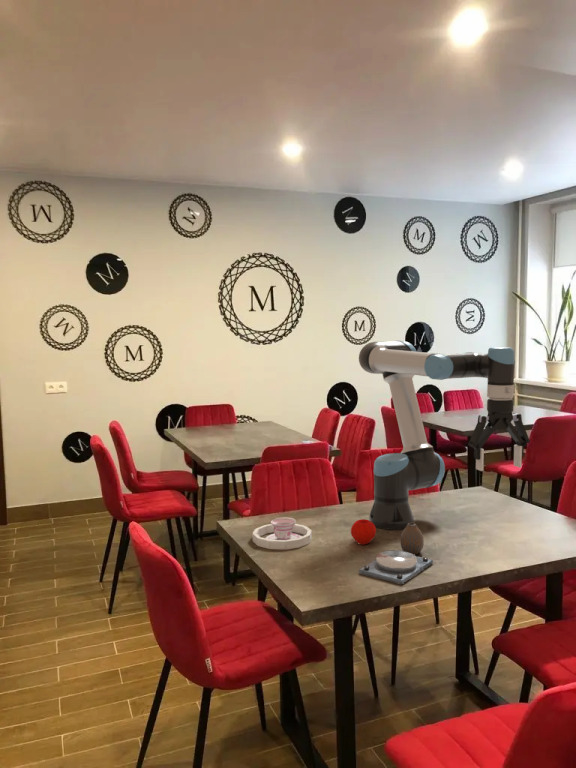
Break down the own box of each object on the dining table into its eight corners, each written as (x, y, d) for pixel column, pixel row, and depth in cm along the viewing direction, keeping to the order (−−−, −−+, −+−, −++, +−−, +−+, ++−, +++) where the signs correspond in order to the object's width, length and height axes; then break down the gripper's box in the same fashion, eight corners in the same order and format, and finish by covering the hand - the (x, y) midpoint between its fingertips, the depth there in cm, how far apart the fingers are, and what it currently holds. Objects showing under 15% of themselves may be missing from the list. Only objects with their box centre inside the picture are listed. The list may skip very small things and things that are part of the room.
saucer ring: (241, 541, 194) (241, 534, 194) (278, 527, 209) (278, 519, 209) (286, 553, 183) (286, 545, 183) (322, 537, 197) (322, 529, 197)
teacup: (280, 532, 204) (279, 513, 204) (310, 538, 197) (309, 519, 197) (257, 542, 194) (257, 523, 194) (288, 549, 187) (287, 529, 187)
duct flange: (359, 573, 166) (359, 562, 166) (391, 554, 180) (391, 544, 180) (402, 584, 158) (402, 572, 158) (432, 564, 172) (432, 552, 172)
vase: (408, 547, 187) (408, 518, 186) (428, 552, 182) (428, 523, 181) (395, 552, 182) (395, 524, 181) (415, 558, 177) (415, 528, 176)
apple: (380, 546, 188) (379, 522, 187) (355, 548, 186) (354, 524, 186) (372, 538, 196) (372, 515, 195) (348, 540, 194) (347, 517, 194)
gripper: (471, 401, 177) (470, 474, 179) (543, 398, 184) (541, 467, 186) (457, 399, 184) (456, 468, 186) (526, 395, 191) (524, 462, 193)
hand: (498, 468), depth 186 cm, fingers open, 13 cm apart
